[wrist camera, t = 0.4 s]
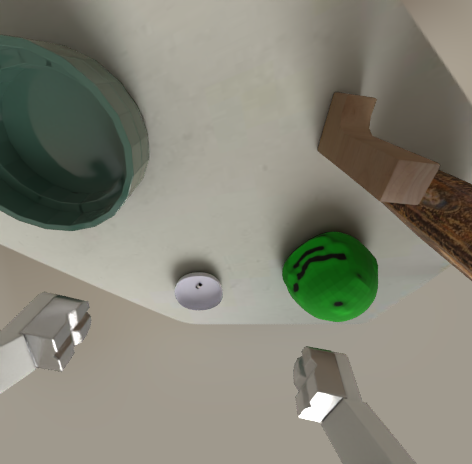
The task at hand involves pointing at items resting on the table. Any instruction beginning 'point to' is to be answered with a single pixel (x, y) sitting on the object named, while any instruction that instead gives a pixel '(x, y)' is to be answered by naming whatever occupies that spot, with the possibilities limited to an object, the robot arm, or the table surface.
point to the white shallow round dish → (198, 291)
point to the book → (443, 219)
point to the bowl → (65, 137)
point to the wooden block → (372, 153)
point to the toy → (332, 277)
